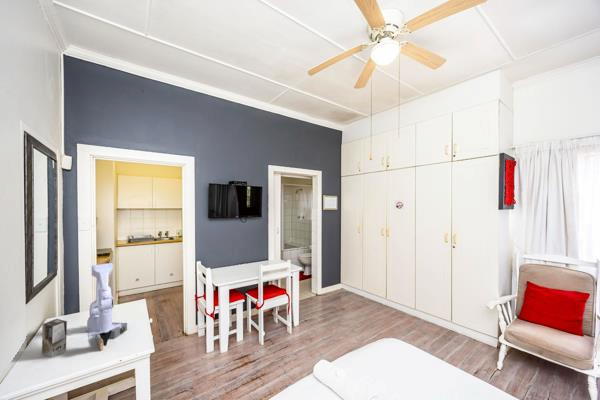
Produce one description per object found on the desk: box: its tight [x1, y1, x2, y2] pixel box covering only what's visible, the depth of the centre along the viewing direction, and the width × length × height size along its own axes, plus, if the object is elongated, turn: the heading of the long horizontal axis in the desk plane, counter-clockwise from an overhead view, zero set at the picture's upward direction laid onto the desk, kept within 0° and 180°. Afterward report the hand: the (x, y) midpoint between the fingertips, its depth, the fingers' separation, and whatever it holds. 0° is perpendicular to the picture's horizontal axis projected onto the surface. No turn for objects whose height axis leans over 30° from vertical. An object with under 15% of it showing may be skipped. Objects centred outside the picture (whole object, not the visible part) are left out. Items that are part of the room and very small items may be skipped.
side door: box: [95, 334, 104, 351], centre depth 138 cm, size 16×1×4 cm, turn 47°
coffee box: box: [41, 318, 68, 358], centre depth 131 cm, size 9×6×16 cm
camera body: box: [100, 322, 128, 340], centre depth 149 cm, size 11×10×5 cm
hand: (104, 345), depth 135 cm, fingers closed
